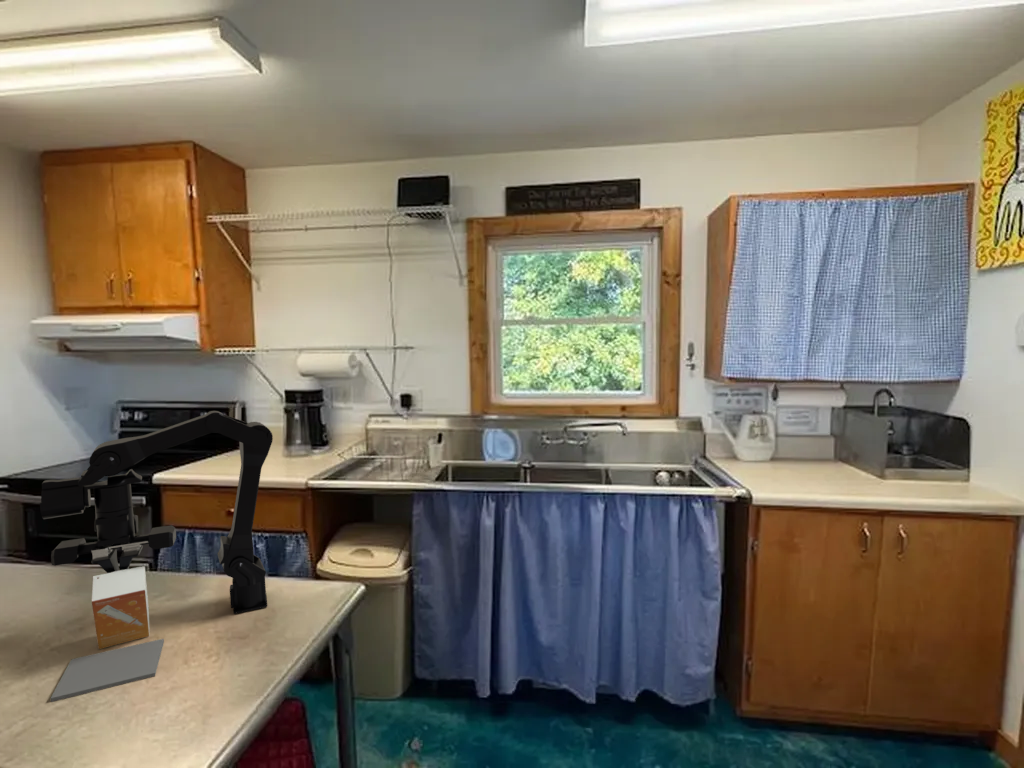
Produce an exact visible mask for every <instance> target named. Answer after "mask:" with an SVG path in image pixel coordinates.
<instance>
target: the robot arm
mask: <svg viewBox="0 0 1024 768" xmlns="http://www.w3.org/2000/svg"><path fill="white" fill-rule="evenodd" d="M212 433H217V434H219V435H222V436H224V437H227V438H229V439H231V440H234V441H236V442H238V443H239V455H240V462H241V463H240V468H239V469H240V471H239V477H238V483H237V489H236V490H237V491H236V495H235V504H234V509H233V518H232V524H231V529H230V530H229V533H228V535H227V536H226V535H225V536H224V535H221V536H220V540H219V541H220V547H219V550H218V552H217V558H218V561H219V565H221V566H222V568H223V571H224V574H225V575H226V576H228V577H230V578H232V582H231V583H232V584H230V585H229V599H230V600H229V601H230V602H229V603H230V608H231V609H232V611H233V614H234V615H236V614H241V613H245V612H250V611H254V610H255V611H256V610H259V609H264V608H265V609H266V608H267V607H268V596H267V591H266V590H267V589H266V588H267V587H266V573H267V571H266V569H265V567H264V565H263V562H262V559H261V558H260V557H258V556H257V555H255V553H254V550H255V549H254V542H253V541H254V539H253V526H254V519H255V513H256V505H257V500H258V492H259V486H260V480H261V473H262V467H263V465H264V464H265V461H266V459H267V457H268V455H269V452H270V450H271V446H272V444H273V439H274V437H273V432H272V430H270V429H269V428H268V427H267V426H266V425H264V423H261V422H258V421H250V422H246V421H243V420H242V419H238V418H235V417H232V416H229V415H226V414H223V413H222V412H220V411H219V410H210V411H208V412H207V413H205V414H202V415H199V416H197V417H194V418H191V419H187V420H185V421H182V422H179V423H176V424H174V425H173V424H172V425H171V426H167V427H165V428H162V429H159V430H156V431H153V432H150V433H147V434H144V435H143V434H142V435H138V436H133V437H132V436H130V437H124V438H118V439H113V440H108V441H104V442H102V443H100V444H99V445H97V446H96V447H95V449H94V450H93V451H92V453H91V455H90V457H89V460H88V461H89V462H88V463H89V465H88V468H87V469H86V470H83V471H82V473H81V474H80V477H72V478H71V477H70V478H64V479H47V480H46V479H45V480H44V481H43V482H42V483H41V492H40V493H41V495H40V498H41V499H40V502H39V509H40V515H41V518H42V519H43V520H47V519H54V518H60V517H67V516H73V515H80V514H84V511H85V510H86V508H89V507H91V504H92V501H91V500H92V498H91V490H93V499H94V509H95V510H94V511H95V512H94V513H95V518H94V532H96V535H97V541H94V542H93V541H92V542H87V541H86V539H85V537H82V538H73V539H69V540H61V541H60V543H59V544H58V545H57V546H56V547H55V548H54V549H53V550H51V555H50V562H51V566H55V567H56V566H62V565H66V564H73V563H74V562H75V561H76V560H77V559H78V558H79V556H81V555H86V554H92V559H91V564H93V565H94V564H95V565H96V564H98V566H100V567H101V568H102V569H103V570H104V571H105V573H111V572H115V571H119V570H125V569H130V566H131V563H132V560H133V559H134V558H135V557H136V558H137V557H139V555H140V554H141V552H142V550H143V547H144V546H145V545H148V547H149V548H151V549H152V550H155V551H156V550H160V549H166V548H167V549H168V548H171V547H173V546H174V545H175V542H176V539H177V532H176V531H177V529H176V527H175V526H174V525H172V524H171V525H164V526H156V527H152V528H151V529H150V532H149V533H145V534H140V535H136V534H138V532H139V515H136V514H134V509H133V507H134V506H133V498H132V497H133V496H132V495H133V494H132V484H141V482H142V480H143V476H142V475H141V474H138V473H137V472H135V471H134V470H133V468H131V467H133V466H135V465H136V464H139V463H140V462H141V461H143V460H145V459H146V458H148V457H150V456H152V455H153V454H156V453H159V452H162V451H165V450H169V449H170V448H173V447H175V446H178V445H179V446H180V445H181V444H184V443H187V442H190V441H193V440H195V439H197V438H202V437H203V436H207V435H210V434H212ZM129 468H131V469H129ZM127 469H129V470H128V471H127V472H126V473H125V474H123V473H122V472H124V471H126V470H127ZM120 473H122V474H120ZM105 477H107V479H106V480H103V481H100V480H101V479H103V478H105ZM98 481H99V482H98ZM118 549H119V550H120V549H121V551H122V553H121V554H120V556H119V562H118V552H117V551H118Z"/></svg>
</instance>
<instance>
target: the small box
mask: <svg viewBox="0 0 1024 768" xmlns="http://www.w3.org/2000/svg"><path fill="white" fill-rule="evenodd" d="M91 584H92V585H91V587H92V588H91V590H92V591H91V609H92V614H93V621H94V630H95V635H96V641H97V647H98V650H101V649H104V648H108V647H111V646H116V645H120V644H123V643H124V644H125V643H127V642H131V641H135V640H139V639H144V638H148V637H150V609H149V608H150V607H149V597H148V586H147V576H146V565H143V566H137V567H132V568H129V569H125V570H120V569H119V571H115V572H111V573H107V572H105V573H101V574H97V575H93V576H92V583H91Z"/></svg>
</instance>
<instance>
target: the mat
mask: <svg viewBox="0 0 1024 768" xmlns="http://www.w3.org/2000/svg"><path fill="white" fill-rule="evenodd" d="M164 643H165V639H164V638H161V639H155V640H151V641H147V642H142V643H138V644H133V645H130V646H123V647H119V648H115V649H110V650H106V651H103V652H98V653H93V654H89V655H84V656H80V657H76V658H72V659H70V660H69V663H68V665H67V667H66V669H65V670H64V672H63V674H62V676H61V678H60V680H59V681H58V683H57V685H56V687H55V689H54V690H53V693H52V695H51V697H50V703H52V702H56V701H60V700H65V699H68V698H73V697H77V696H81V695H85V694H88V693H92V692H97V691H101V690H104V689H108V688H112V687H116V686H120V685H121V686H122V685H125V684H129V683H132V682H133V683H134V682H137V681H141V680H145V679H148V678H152V677H156V674H157V669H158V665H159V662H160V657H161V654H162V651H163V647H164Z"/></svg>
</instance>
